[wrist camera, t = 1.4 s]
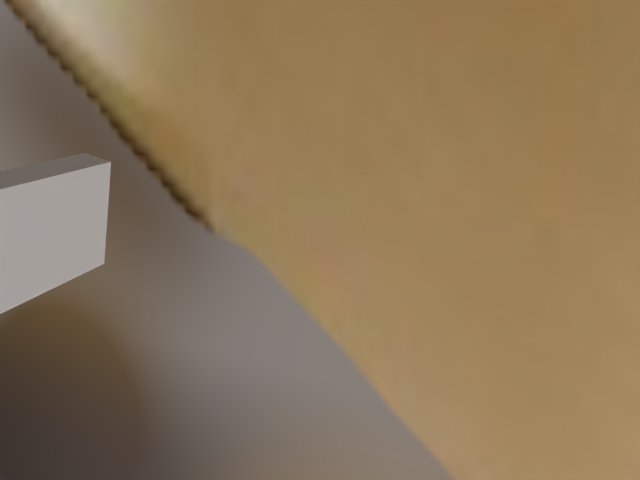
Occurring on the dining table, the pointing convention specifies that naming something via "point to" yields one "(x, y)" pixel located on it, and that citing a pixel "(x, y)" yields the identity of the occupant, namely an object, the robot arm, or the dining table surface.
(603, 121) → the dining table surface
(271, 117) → the dining table surface
